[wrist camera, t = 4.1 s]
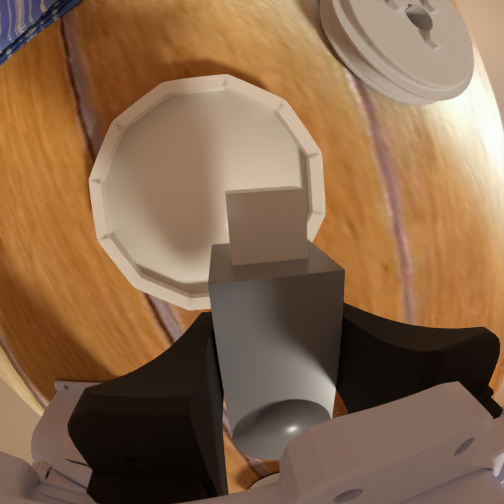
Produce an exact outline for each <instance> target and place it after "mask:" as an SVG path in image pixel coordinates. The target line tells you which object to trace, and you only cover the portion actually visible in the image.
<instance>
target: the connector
mask: <svg viewBox="0 0 504 504" xmlns="http://www.w3.org/2000/svg"><path fill="white" fill-rule="evenodd" d="M225 196H226V208H227V220H228V231H229V243H225V244H214V245H212V249H211V258H210V268H209V278H208V289H209V297H210V304H211V311H212V319H213V326H214V333H215V339H216V346H217V352H218V359H219V365H220V371H221V377H222V383H223V389H224V395H225V401H226V406H227V412H228V417H229V423H230V428H231V433H232V439H233V442H234V444H235V446H236V447H237V448H238V450H240V451H241V452H242V453H244V454H245V455H248V456H250V457H253V458H257V459H263V460H279V459H281V457H282V455H283V453H284V450H285V448H286V446H287V445H288V444H289V443H290V442H291V441H293V440H294V439H295V438H297V437H298V436H299V435H301V434H302V433H303V432H305V431H306V430H307V429H308V428H310V427H312V426H315V425H317V424H320V423H323V422H325V421H328V420H330V419H332V413H333V406H334V399H335V391H336V383H337V374H338V365H339V355H340V344H341V332H342V318H343V301H344V278H345V270H344V269H343V268H342V267H341V266H340V265H338V264H337V263H336V262H335V261H334V260H332V259H331V258H330V257H329V256H328V255H326V254H325V253H324V252H323V251H321V250H320V249H319V248H318V247H317V246H315V245H314V244H313V243H312V242H310V241H309V240H308V239H307V211H306V189H305V188H300V187H296V186H284V187H268V188H254V189H241V190H229V191H225Z"/></svg>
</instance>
